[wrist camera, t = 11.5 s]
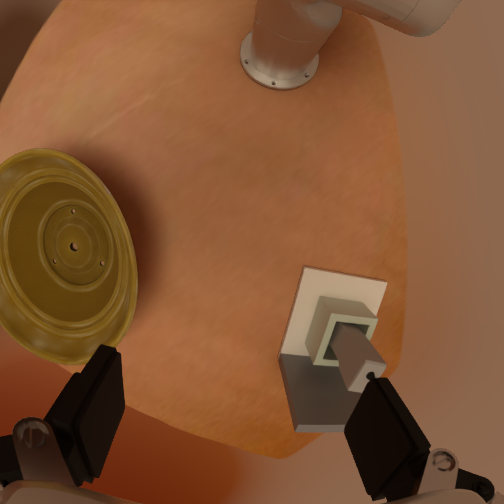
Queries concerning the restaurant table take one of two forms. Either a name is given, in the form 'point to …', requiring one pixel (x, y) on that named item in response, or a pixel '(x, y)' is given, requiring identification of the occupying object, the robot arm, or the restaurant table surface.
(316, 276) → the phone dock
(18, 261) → the planter bowl
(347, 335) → the vintage mobile phone
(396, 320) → the restaurant table surface
